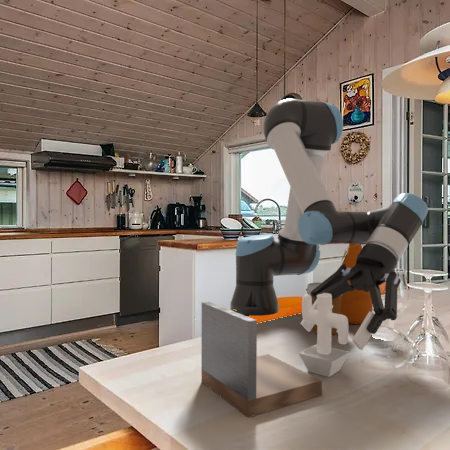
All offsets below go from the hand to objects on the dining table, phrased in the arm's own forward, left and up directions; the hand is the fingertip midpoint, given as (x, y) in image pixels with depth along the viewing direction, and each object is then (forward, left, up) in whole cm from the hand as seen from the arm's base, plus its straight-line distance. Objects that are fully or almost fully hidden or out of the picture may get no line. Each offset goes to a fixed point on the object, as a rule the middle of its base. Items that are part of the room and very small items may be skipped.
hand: (329, 335), depth 80 cm
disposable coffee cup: (-21, -19, -7) cm, 29 cm away
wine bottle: (-36, -21, -7) cm, 42 cm away
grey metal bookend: (+22, -3, -5) cm, 23 cm away
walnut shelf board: (+16, -2, -7) cm, 17 cm away
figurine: (0, -1, -7) cm, 7 cm away
